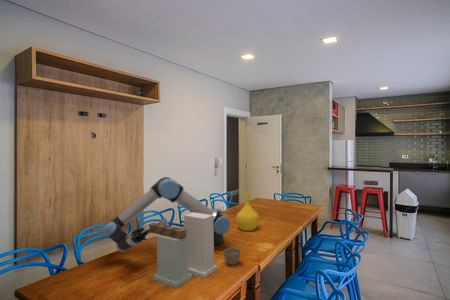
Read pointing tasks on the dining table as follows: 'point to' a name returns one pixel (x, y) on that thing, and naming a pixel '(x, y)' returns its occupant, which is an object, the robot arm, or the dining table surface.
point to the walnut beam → (167, 230)
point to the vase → (247, 217)
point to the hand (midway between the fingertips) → (158, 222)
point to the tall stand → (200, 244)
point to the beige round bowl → (232, 255)
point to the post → (172, 261)
